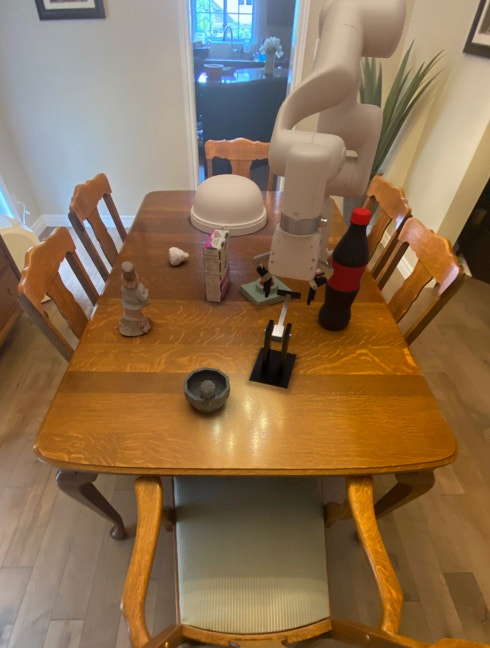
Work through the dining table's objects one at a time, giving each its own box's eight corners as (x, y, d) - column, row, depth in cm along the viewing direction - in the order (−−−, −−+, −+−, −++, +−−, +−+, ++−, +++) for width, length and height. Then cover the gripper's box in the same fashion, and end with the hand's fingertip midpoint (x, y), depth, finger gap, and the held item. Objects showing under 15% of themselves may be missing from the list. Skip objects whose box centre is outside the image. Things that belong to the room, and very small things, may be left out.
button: (268, 279, 108) (269, 274, 106) (275, 285, 106) (276, 280, 104) (258, 282, 106) (258, 277, 105) (265, 288, 104) (265, 283, 103)
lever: (277, 292, 85) (278, 286, 83) (301, 297, 84) (302, 290, 82) (264, 339, 80) (264, 333, 78) (288, 344, 79) (289, 338, 77)
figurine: (144, 341, 94) (128, 269, 79) (114, 334, 95) (93, 262, 80) (158, 321, 99) (146, 250, 84) (130, 315, 101) (114, 244, 86)
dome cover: (199, 200, 155) (197, 162, 145) (269, 205, 153) (272, 167, 142) (181, 233, 134) (178, 192, 124) (262, 240, 132) (265, 198, 121)
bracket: (260, 350, 92) (264, 307, 83) (295, 357, 91) (304, 315, 81) (248, 383, 84) (251, 340, 75) (286, 391, 83) (294, 349, 73)
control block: (273, 281, 114) (274, 270, 111) (292, 298, 108) (293, 285, 105) (240, 291, 110) (240, 279, 107) (257, 309, 104) (258, 297, 101)
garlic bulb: (191, 265, 119) (189, 249, 115) (173, 268, 118) (171, 252, 114) (186, 258, 122) (185, 242, 118) (169, 260, 121) (167, 244, 117)
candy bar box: (214, 281, 113) (212, 228, 101) (229, 283, 113) (230, 229, 100) (205, 301, 106) (202, 246, 94) (221, 303, 105) (221, 248, 93)
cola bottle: (349, 319, 101) (384, 205, 79) (345, 337, 96) (381, 221, 74) (319, 313, 103) (345, 200, 81) (313, 330, 98) (339, 214, 75)
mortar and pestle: (185, 390, 83) (180, 350, 74) (226, 387, 84) (226, 347, 74) (187, 430, 75) (182, 391, 66) (232, 426, 76) (233, 387, 67)
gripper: (346, 219, 71) (327, 296, 84) (260, 208, 74) (255, 283, 87) (342, 236, 67) (323, 314, 79) (251, 223, 70) (247, 300, 82)
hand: (288, 298), depth 83 cm, fingers open, 9 cm apart
